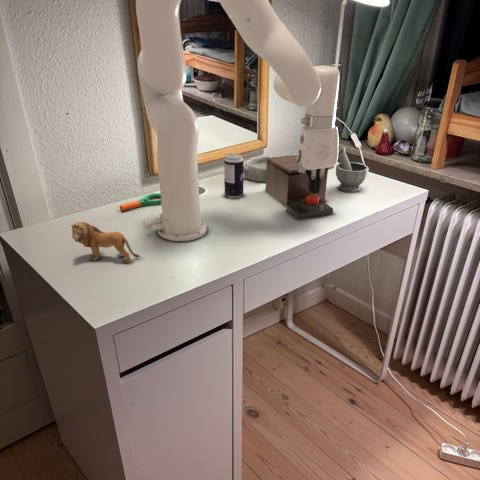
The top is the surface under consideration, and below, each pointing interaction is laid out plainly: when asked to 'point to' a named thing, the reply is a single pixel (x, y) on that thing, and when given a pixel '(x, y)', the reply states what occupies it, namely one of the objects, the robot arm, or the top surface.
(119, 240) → the lion figurine
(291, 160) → the wooden box lid
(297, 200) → the brown open box
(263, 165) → the dish
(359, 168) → the mortar and pestle
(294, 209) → the control block
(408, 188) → the top surface
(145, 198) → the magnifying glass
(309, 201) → the button
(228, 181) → the beverage can
